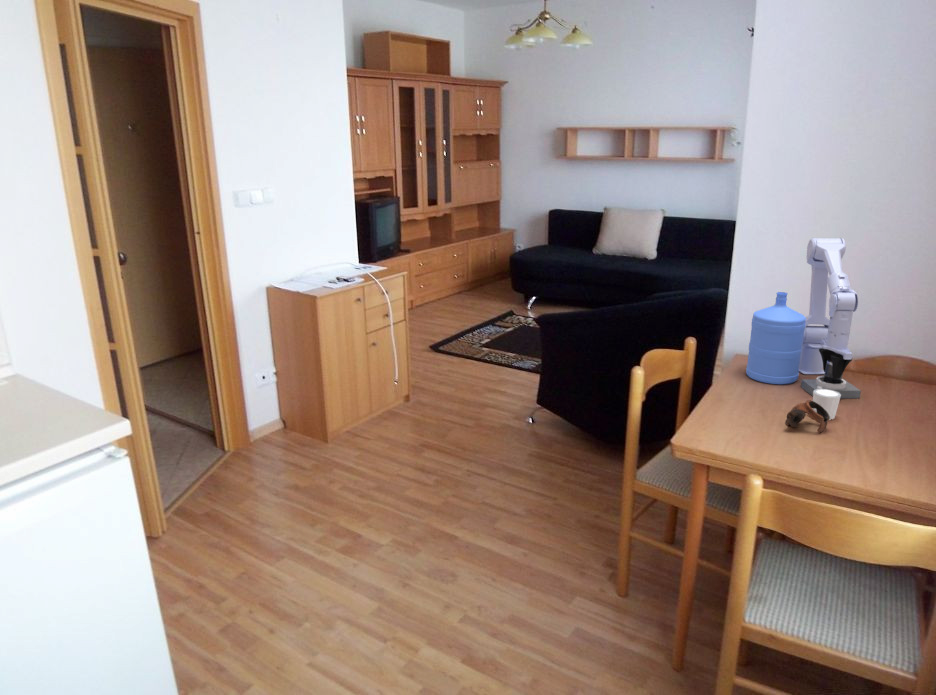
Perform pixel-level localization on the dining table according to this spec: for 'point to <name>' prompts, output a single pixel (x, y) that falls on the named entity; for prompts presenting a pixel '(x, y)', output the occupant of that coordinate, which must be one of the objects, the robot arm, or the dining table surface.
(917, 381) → the dining table surface
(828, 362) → the lens
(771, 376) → the water jug
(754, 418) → the dining table surface
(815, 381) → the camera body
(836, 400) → the white cup
